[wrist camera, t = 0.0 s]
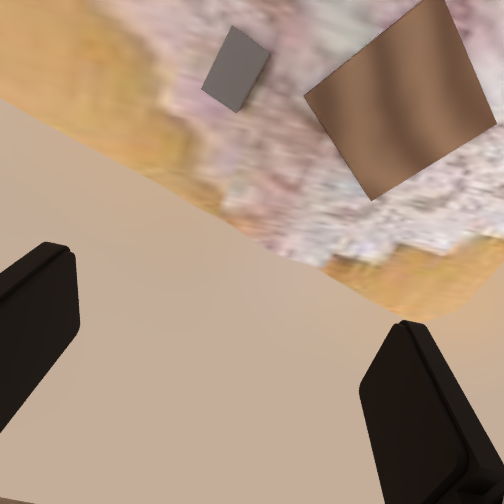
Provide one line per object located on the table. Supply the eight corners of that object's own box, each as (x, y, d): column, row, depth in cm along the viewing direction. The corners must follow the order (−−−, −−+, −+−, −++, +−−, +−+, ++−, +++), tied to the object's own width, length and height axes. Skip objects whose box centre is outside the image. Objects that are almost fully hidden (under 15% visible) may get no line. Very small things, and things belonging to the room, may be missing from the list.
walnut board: (433, -9, 30) (439, -12, 29) (490, 122, 34) (497, 123, 33) (303, 95, 35) (304, 96, 34) (369, 197, 39) (371, 201, 38)
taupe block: (237, 29, 32) (232, 25, 29) (271, 54, 33) (269, 53, 30) (209, 87, 35) (201, 89, 32) (240, 108, 36) (236, 113, 32)
